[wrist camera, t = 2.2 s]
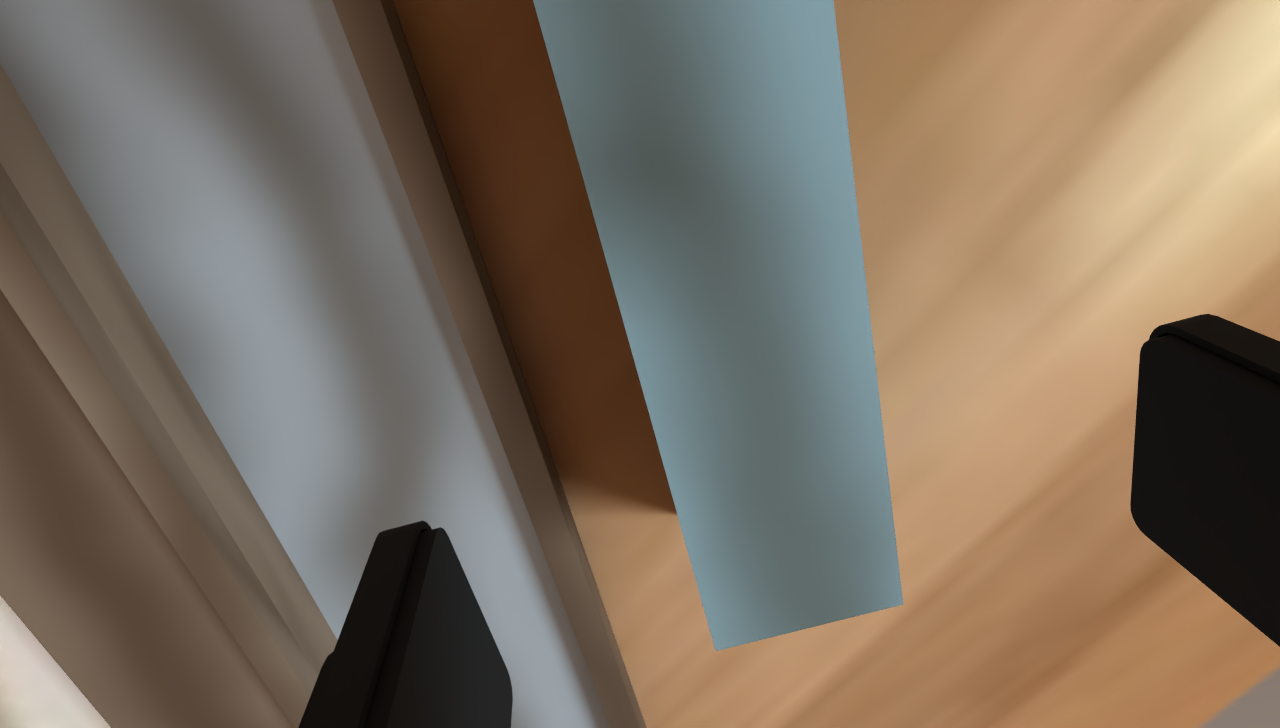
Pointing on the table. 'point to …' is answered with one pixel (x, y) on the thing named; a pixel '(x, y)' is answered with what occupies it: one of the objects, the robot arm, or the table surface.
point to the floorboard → (256, 365)
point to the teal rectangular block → (740, 292)
